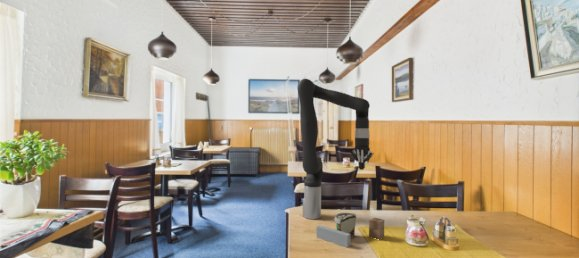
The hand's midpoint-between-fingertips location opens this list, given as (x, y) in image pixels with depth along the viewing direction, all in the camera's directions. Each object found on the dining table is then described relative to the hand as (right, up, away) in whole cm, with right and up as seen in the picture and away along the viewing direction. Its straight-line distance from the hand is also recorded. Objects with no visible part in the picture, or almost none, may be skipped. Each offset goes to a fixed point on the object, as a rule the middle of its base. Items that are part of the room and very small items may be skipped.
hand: (361, 169), depth 158 cm
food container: (-14, -28, -23) cm, 39 cm away
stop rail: (-19, -28, -28) cm, 44 cm away
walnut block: (+1, -28, -23) cm, 36 cm away
